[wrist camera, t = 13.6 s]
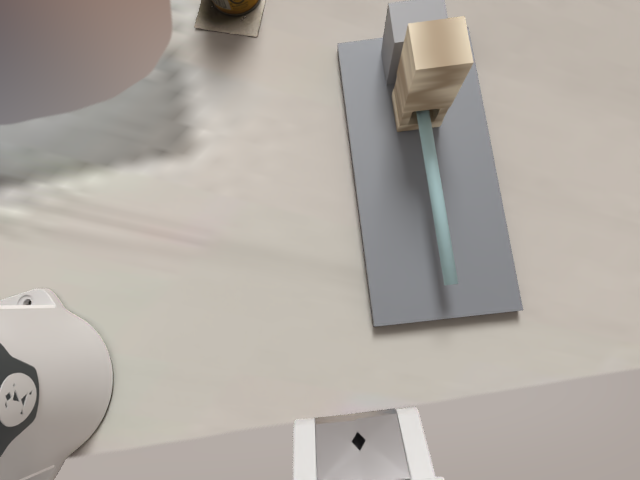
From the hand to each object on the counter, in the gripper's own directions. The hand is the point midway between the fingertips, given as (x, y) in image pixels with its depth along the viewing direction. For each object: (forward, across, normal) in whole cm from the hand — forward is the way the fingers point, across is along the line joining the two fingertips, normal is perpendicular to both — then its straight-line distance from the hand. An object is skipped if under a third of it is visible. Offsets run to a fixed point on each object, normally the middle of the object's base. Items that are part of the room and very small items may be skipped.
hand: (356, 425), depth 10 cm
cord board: (+34, -10, +11) cm, 37 cm away
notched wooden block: (+37, -10, +5) cm, 39 cm away
